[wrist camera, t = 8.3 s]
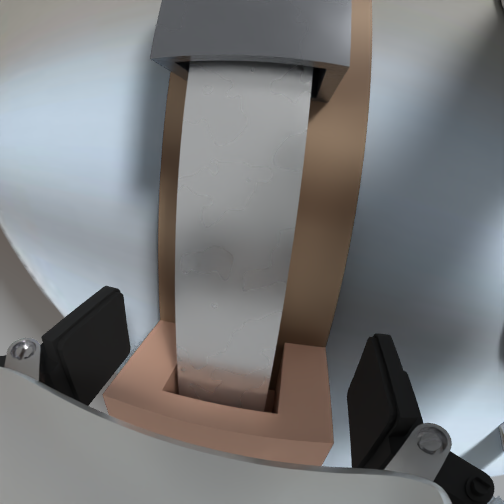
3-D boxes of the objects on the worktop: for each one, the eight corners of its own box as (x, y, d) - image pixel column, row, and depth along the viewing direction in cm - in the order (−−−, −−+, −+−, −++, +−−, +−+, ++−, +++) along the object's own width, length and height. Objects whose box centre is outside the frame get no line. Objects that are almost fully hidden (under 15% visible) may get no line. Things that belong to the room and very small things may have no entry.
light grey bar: (223, 54, 12) (197, 20, 8) (310, 59, 11) (316, 24, 7) (201, 385, 17) (182, 430, 14) (264, 396, 17) (256, 446, 13)
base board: (204, -45, 11) (198, -57, 10) (364, -36, 10) (368, -49, 9) (172, 375, 21) (165, 388, 19) (304, 399, 20) (304, 413, 18)
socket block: (160, 319, 17) (102, 394, 11) (325, 347, 16) (333, 443, 10) (165, 383, 19) (124, 456, 13) (306, 409, 18) (303, 495, 12)
